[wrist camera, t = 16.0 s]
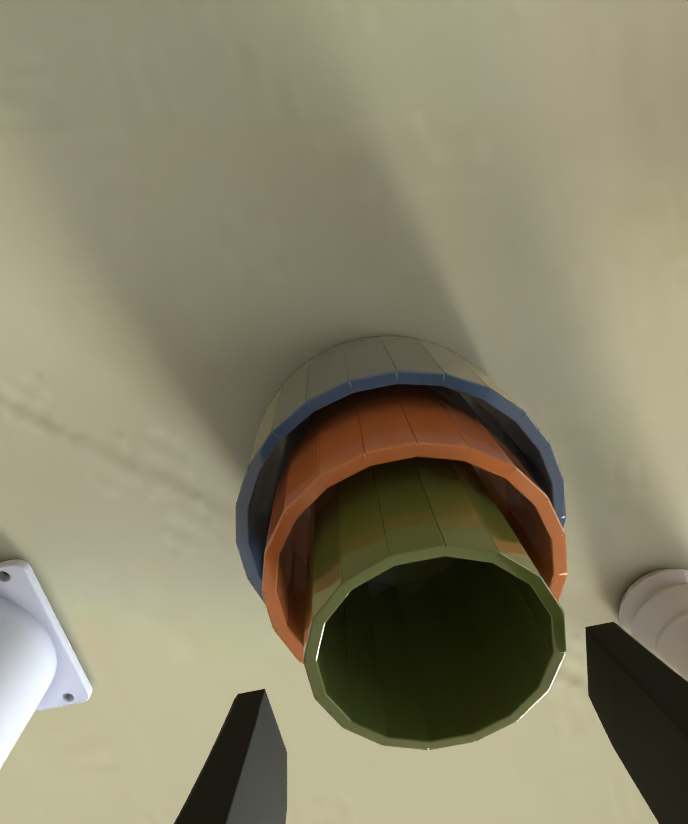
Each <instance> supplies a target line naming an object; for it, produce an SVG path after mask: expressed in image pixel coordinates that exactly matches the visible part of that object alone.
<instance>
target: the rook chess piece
mask: <svg viewBox="0 0 688 824" xmlns="http://www.w3.org/2000/svg"><path fill="white" fill-rule="evenodd" d="M618 621H619V624H620V626H621V628H622V629H623V630H625V631H626V632H627V633H628V634H629V635H631V636H632V637H633V638H634V639H636V640H637V641H638V642H639V643H640V644H642V645H643V646H644V647H645V648H646V649H648V650H649V651H650V652H651V653H653V654H654V655H655V656H656V657H658V658H659V659H660V660H661V661H663V662H664V663H665V664H666V665H668V666H669V667H670V668H671V669H673V670H674V671H675V672H677V673H678V674H679V675H681V676H682V677H683V678H684V679H685V680H687V681H688V570H685V569H675V568H673V569H661V570H656V571H654V572H651V573H649V574H646V575H644V576H642V577H641V578H639V579H638V580H637V581H636V582H634V583H633V584H632V585H631V586H629V588H628V590H627V591H626V593H625V594H624V596H623V597H622V600H621V606H620V612H619V620H618Z"/></svg>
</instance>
